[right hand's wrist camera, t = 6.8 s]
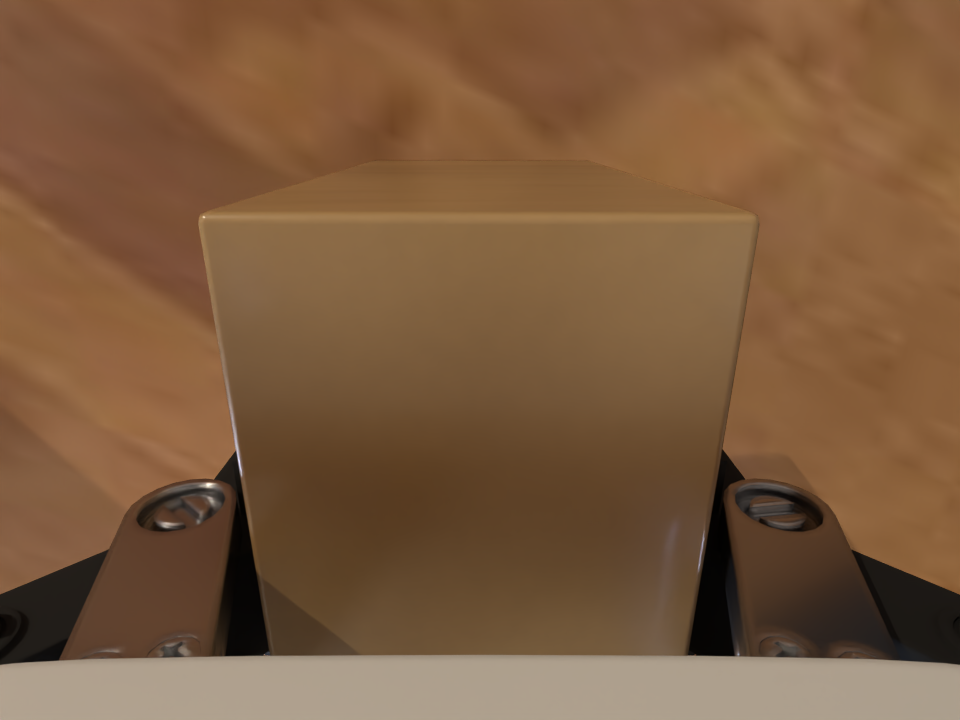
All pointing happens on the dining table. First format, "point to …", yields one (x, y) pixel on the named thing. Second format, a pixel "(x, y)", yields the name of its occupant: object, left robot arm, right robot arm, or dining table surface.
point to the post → (478, 403)
